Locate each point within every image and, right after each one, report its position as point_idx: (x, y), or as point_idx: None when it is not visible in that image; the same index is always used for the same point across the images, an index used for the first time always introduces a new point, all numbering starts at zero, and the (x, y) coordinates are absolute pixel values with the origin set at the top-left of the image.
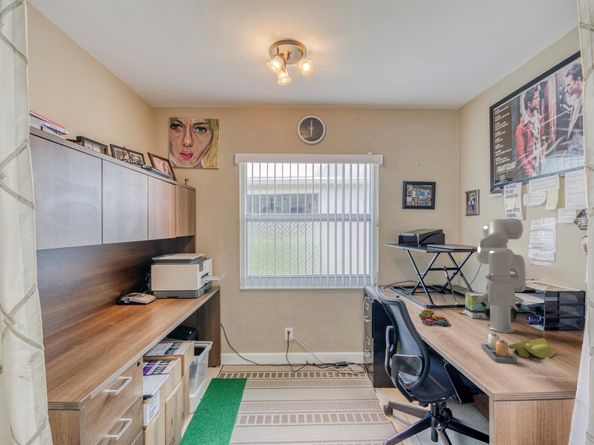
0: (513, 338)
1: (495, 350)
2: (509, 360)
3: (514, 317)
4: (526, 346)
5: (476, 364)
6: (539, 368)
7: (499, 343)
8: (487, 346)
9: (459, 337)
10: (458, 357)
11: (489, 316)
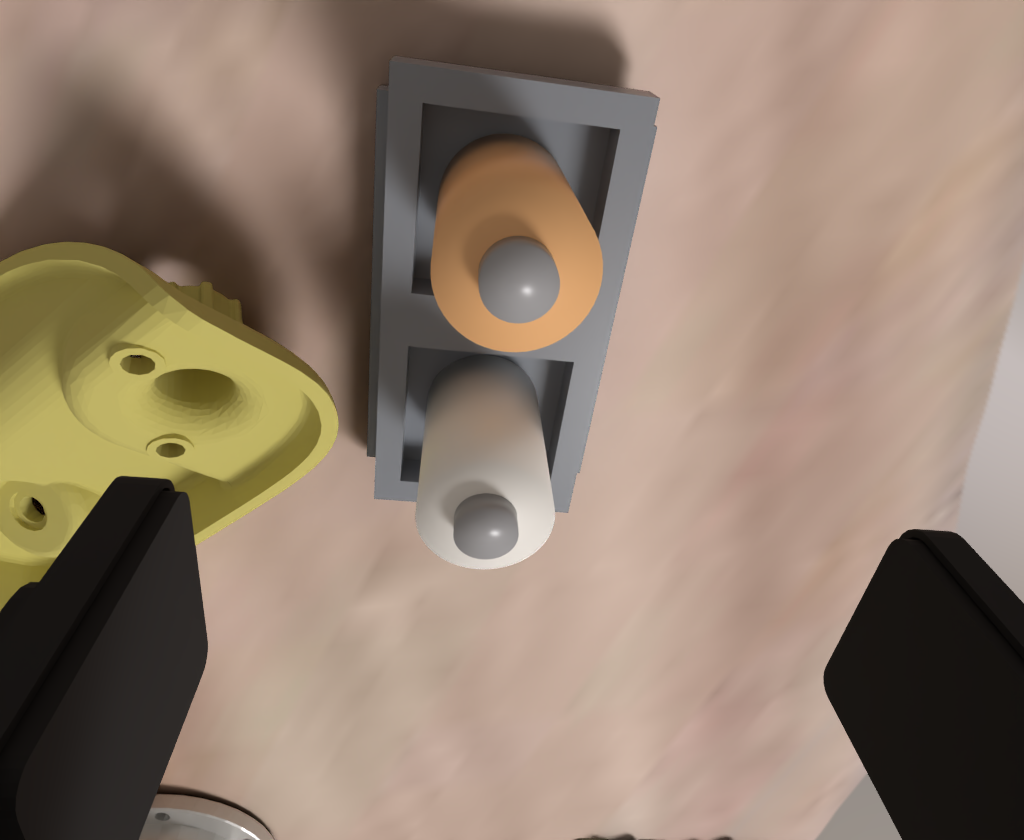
0: None
1: None
2: (483, 72)
3: (146, 517)
4: (142, 280)
5: (884, 53)
6: (139, 4)
7: (583, 216)
8: None
9: (620, 681)
10: (955, 241)
11: (957, 562)
